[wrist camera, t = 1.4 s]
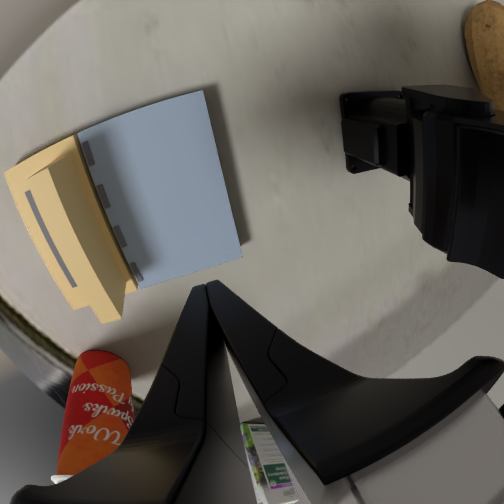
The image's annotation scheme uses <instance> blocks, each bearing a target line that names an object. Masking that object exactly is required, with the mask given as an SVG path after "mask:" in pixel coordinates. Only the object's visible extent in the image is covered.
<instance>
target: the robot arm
mask: <svg viewBox="0 0 504 504" xmlns="http://www.w3.org/2000/svg"><path fill="white" fill-rule="evenodd" d="M399 95H400V98H399ZM346 97H348V101H347V102H346V100H345V98H346ZM340 106H341V114H342V121H341V125H342V135H343V145H344V152H345V155H346V168H347V171H348V172H350V173H352V174H356V173H360V172H364V171H369V170H373V169H378V168H382V169H384V170H386V171H389V172H391V173H393V174H395V175H397V176H399V177H402V178H404V179H406V180H408V181H410V203H409V212H410V214H411V215H412V216H413V219H414V224H415V225H416V227H417V228H418V229H419V231H420V232H421V233H422V239H423V240H424V241H425V242H426V243H428V244H429V245H431V246H432V247H434V248H436V249H438V250H440V251H442V252H444V253H446V254H447V258H446V259H447V260H448V261H449V262H460V263H467V264H470V265H474V266H477V267H480V268H482V269H484V270H486V271H488V272H490V273H492V274H494V275H496V276H497V277H499V278H501V279H504V111H502V110H498V109H494V105H493V100H492V99H490V98H489V97H487V96H485V95H483V94H481V93H480V92H478V91H476V90H474V89H471V88H465V87H458V86H451V85H422V86H405V87H402V91H368V92H350V93H343V94H341V96H340ZM353 165H354V168H353V169H352V166H353ZM224 342H225V343H224ZM225 345H226V347H227V349H228V352H229V354H230V356H231V358H232V360H233V362H234V364H235V366H236V368H237V370H238V372H239V374H240V376H241V378H242V380H243V382H244V384H245V386H246V388H247V390H248V392H249V394H250V396H251V398H252V400H253V402H254V404H255V406H256V408H257V410H258V412H259V413H260V415H261V417H262V419H263V421H264V423H265V425H266V427H267V428H268V430H269V432H270V434H271V436H272V437H273V439H274V441H275V443H276V445H277V446H278V448H279V450H280V452H281V454H282V455H283V457H284V459H285V461H286V462H287V464H288V466H289V467H290V469H291V471H292V472H293V474H294V476H295V478H296V479H297V481H298V482H299V484H300V486H301V487H302V489H303V491H304V492H305V494H306V495H307V497H308V499H309V500H310V502H311V504H504V404H503V405H502V406H501V407H500V409H499V410H498V408H497V407H496V406H495V404H494V403H493V402H492V401H491V399H490V398H489V397H488V395H487V393H488V391H489V390H490V389H491V388H492V386H493V385H494V384H495V383H496V381H497V380H498V379H499V378H500V376H501V375H502V373H503V372H504V361H503V360H501V359H499V358H496V357H490V356H475V357H473V358H471V359H470V360H468V361H467V362H465V363H464V364H463V365H462V366H460V367H459V368H458V369H456V370H455V371H453V372H451V373H449V374H446V375H443V376H439V377H434V378H419V379H417V378H416V379H384V378H367V377H363V376H359V375H357V374H354V373H352V372H350V371H348V370H346V369H344V368H342V367H340V366H338V365H336V364H334V363H333V362H331V361H329V360H327V359H325V358H323V357H321V356H320V355H318V354H316V353H314V352H312V351H311V350H309V349H307V348H306V347H304V346H302V345H301V344H299V343H298V342H296V341H295V340H293V339H292V338H291V337H289V336H288V335H287V334H285V333H284V332H283V331H281V330H280V329H278V328H277V327H276V326H275V325H274V324H272V323H271V322H270V321H268V320H267V319H266V318H265V317H263V316H262V315H261V314H260V313H258V312H257V311H256V310H255V309H253V308H252V307H251V306H250V305H248V304H247V303H246V302H245V301H243V300H242V299H241V298H240V297H239V296H237V295H236V294H235V293H234V292H232V291H231V290H230V289H229V288H228V287H226V286H225V285H224V284H223V283H221V282H220V281H219V280H214V281H211V282H208V283H206V285H205V284H201V285H198V286H195V287H193V288H192V290H191V292H190V294H189V297H188V299H187V301H186V304H185V306H184V308H183V311H182V313H181V315H180V318H179V320H178V323H177V325H176V327H175V330H174V332H173V335H172V337H171V339H170V342H169V344H168V347H167V349H166V352H165V354H164V357H163V359H162V362H161V365H160V366H159V369H158V371H157V374H156V376H155V379H154V381H153V383H152V385H151V388H150V390H149V392H148V394H147V396H146V398H145V400H144V402H143V404H142V406H141V408H140V410H139V411H138V413H137V415H136V417H135V419H134V421H133V423H132V425H131V427H130V428H129V430H128V432H127V434H126V436H125V438H124V439H123V441H122V442H121V444H120V445H119V446H118V447H117V449H116V450H114V451H113V452H112V453H111V454H109V455H108V456H106V457H104V458H103V459H101V460H99V461H98V462H96V463H94V464H93V465H91V466H89V467H88V468H86V469H84V470H82V471H81V472H79V473H77V474H75V475H74V476H72V477H70V478H68V479H66V480H64V481H62V482H60V483H57V484H54V485H50V486H38V485H25V486H24V487H22V488H21V489H20V490H18V491H17V492H16V493H15V494H14V496H13V497H12V498H11V501H10V504H257V499H256V495H255V491H254V487H253V482H252V478H251V473H250V469H249V465H248V460H247V455H246V451H245V446H244V441H243V436H242V432H241V427H240V422H239V417H238V411H237V406H236V401H235V396H234V390H233V385H232V379H231V374H230V368H229V362H228V357H227V351H226V347H225Z"/></svg>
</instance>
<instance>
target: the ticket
mask: <svg viewBox="0 0 504 504" xmlns="http://www.w3.org/2000/svg"><path fill="white" fill-rule="evenodd" d="M77 134H78V137H79V140H80V144H81V147H82V150H83V153H84V156H85V159H86V162H87V165H88V168H89V170H90V173H91V176H92V179H93V181H94V184H95V187H96V189H97V192H98V195H99V197H100V200H101V202H102V205H103V207H104V210H105V212H106V215H107V217H108V219H109V222H110V224H111V227H112V229H113V231H114V233H115V236H116V238H117V240H118V242H119V245H120V247H121V249H122V251H123V253H124V256H125V258H126V260H127V262H128V264H129V266H130V268H131V270H132V272H133V274H134V276H135V278H136V280H137V282H138V284H139V286H140V288H141V289H142V288H145V287H149V286H152V285H155V284H158V283H161V282H165V281H168V280H171V279H174V278H177V277H181V276H184V275H187V274H190V273H193V272H197V271H200V270H203V269H206V268H209V267H213V266H216V265H219V264H222V263H225V262H229V261H232V260H235V259H238V258H241V257H243V256H242V251H241V247H240V243H239V239H238V235H237V231H236V227H235V223H234V219H233V215H232V211H231V207H230V202H229V198H228V194H227V190H226V186H225V182H224V178H223V173H222V169H221V165H220V161H219V157H218V153H217V148H216V144H215V140H214V136H213V131H212V127H211V123H210V119H209V114H208V110H207V106H206V101H205V97H204V93H203V90H201V91H197V92H193V93H189V94H185V95H182V96H178V97H175V98H171V99H168V100H164V101H161V102H158V103H155V104H151V105H148V106H145V107H142V108H139V109H136V110H134V111H131V112H128V113H125V114H123V115H120V116H117V117H115V118H112V119H110V120H107V121H104V122H102V123H100V124H97V125H95V126H92V127H90V128H88V129H86V130H83V131H81V132H79V133H77Z"/></svg>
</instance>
